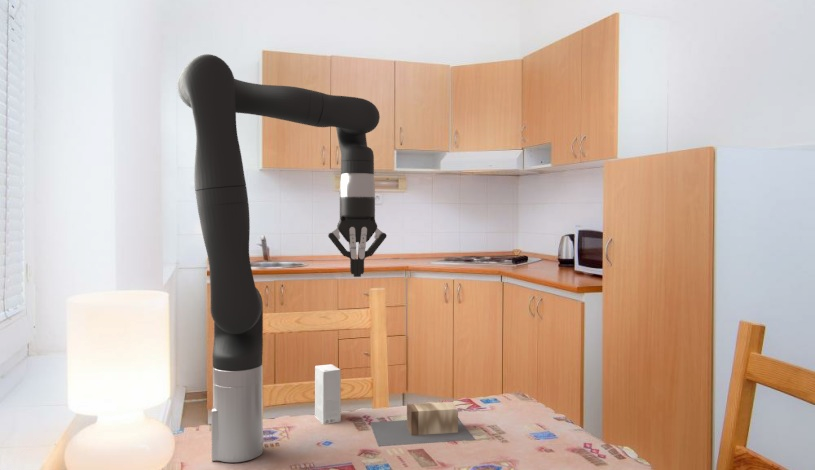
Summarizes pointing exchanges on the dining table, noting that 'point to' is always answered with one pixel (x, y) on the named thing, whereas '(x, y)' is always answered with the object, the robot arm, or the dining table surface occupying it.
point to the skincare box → (328, 393)
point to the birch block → (432, 418)
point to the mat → (400, 435)
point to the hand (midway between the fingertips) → (357, 276)
